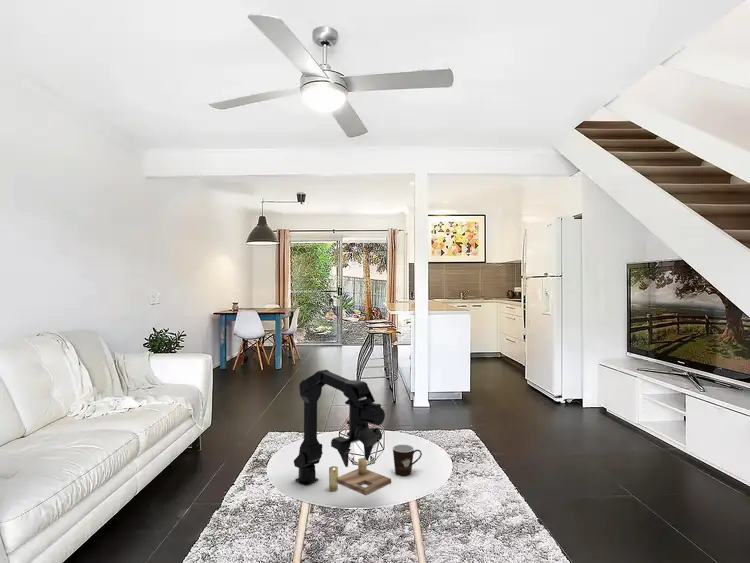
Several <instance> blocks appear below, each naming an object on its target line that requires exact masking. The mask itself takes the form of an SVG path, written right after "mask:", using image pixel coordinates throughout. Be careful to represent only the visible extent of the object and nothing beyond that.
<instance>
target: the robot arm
mask: <svg viewBox="0 0 750 563" xmlns="http://www.w3.org/2000/svg"><path fill="white" fill-rule="evenodd" d="M325 385H327V386H329V387H332V388H333V389H336V390H338V391H340V392H342V393H343V396H345V398H347V400H346V401H345V402H344V404H345V405H348V406H349V407H348V408H349V412H348V413H349V414H348V416H349V418H348V420H346V424H347V425H348V432H346V436H347V438H346V437H344V436H342V435H341V436H337V437H334V438H331V440H330V442H331V443H330V447H331V448H333V449H335V450H336V451H337V452H338V454H339V456H340V458H341V460H342V462H343V465H344V466H345V468H348V467H349V453H350V452H351V451H352V449H350V448H351V444H354V443H357V442H361V443H362V444H363V450H364V451H363V452H364V453H363V454H364V458H365V459H366V460H367V461H369V459H370V456H371V453H372V451H373V448H374V446H375V445H376V444H377V443H379V442H380V440H382V439H383V433H382V431H381V429H380V428H379V427H375V428H374V427H370V426H369V424H372V425H375V426H381V425H382V424H383V423H384V420H385V418H386V413H385V410H384V408H382V404H380V403H375V402H376V400H375V398H374V396H373V393H372V392H371V390H370V388H369V386H368V383H367V382H366V381H363V380H357V379H355V380H353V379H348V378H345V377H343V376H341V375H339V374H336V373H333V372H331V371H330V370H329V369H322V370H321V369H320V370H318V371H316V372H315V373H313V375H311V376H309V377H307V378H305V379H303V380H301V382H300V383H299V387H298V388H299V395H300V398H301V400H302V401H303V413H304V414H303V441H302V442H301V444H300V446H299V449H298V450H299V451H298V455H297V457H296V458H295V459H294V460H293V464H294V467H296V468H298V477H297V478H295V480H294V481H295V482H297V483H299V484H302V485H304V486H308V485H310V484H313V483H315V482H317V481H319V478H317V477H316V464H319V463H320V460H321V459H322V455H323V454H324V453H323V444H322V443H320V442H319V440H318V401H319V399H320V397H321V396H322V391H323V387H324V386H325Z"/></svg>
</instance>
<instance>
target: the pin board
mask: <svg viewBox="0 0 750 563" xmlns="http://www.w3.org/2000/svg"><path fill="white" fill-rule="evenodd" d="M357 461H358V466H357V467H358V468H355V469H353V470H352V471H349V472H347V473H344V474H342V475H339V476H338V484H340V485H342V486H344V487H346V488H349V489H351V490H353V491H356V492H358V493H361V494H363V495H365V496H368V495H369V494H371V493H373V492H376V491H377V490H379V489H381V488H383V487H386V486H387V485H389V484H392V478H391V477H387V476H385V475H383V474H380V473H378V472H375V471H373V470H369V469H367V462H368V460H366V459H365V457H359V458H358V459H357ZM364 485H366V486H364Z"/></svg>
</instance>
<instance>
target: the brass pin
mask: <svg viewBox="0 0 750 563" xmlns="http://www.w3.org/2000/svg"><path fill="white" fill-rule="evenodd" d="M328 470H329V472H328V473H329V474H328V482H329V483H328V490H329V492H337V491H338V490H339V486H338V485H339V483H338V477H339V467H338V466H333V465H332V466H330V467H329V468H328Z"/></svg>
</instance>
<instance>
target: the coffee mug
mask: <svg viewBox="0 0 750 563" xmlns="http://www.w3.org/2000/svg"><path fill="white" fill-rule="evenodd" d="M417 452H419V453H420V454H419V456H418V458H417V459H416V460H413V459H414V455H415V453H417ZM392 454H393V463H394V471H395V472H394V473H395V475H396V476H399V477H408V476H411V474H412V469H413V465H414V464H416V463H417V462H418V461H419V460H420V459H421V458H422V455H423V452H422V450H420V449H415V448H414V446H412V445H409V444H397V445H393V446H392Z"/></svg>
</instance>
